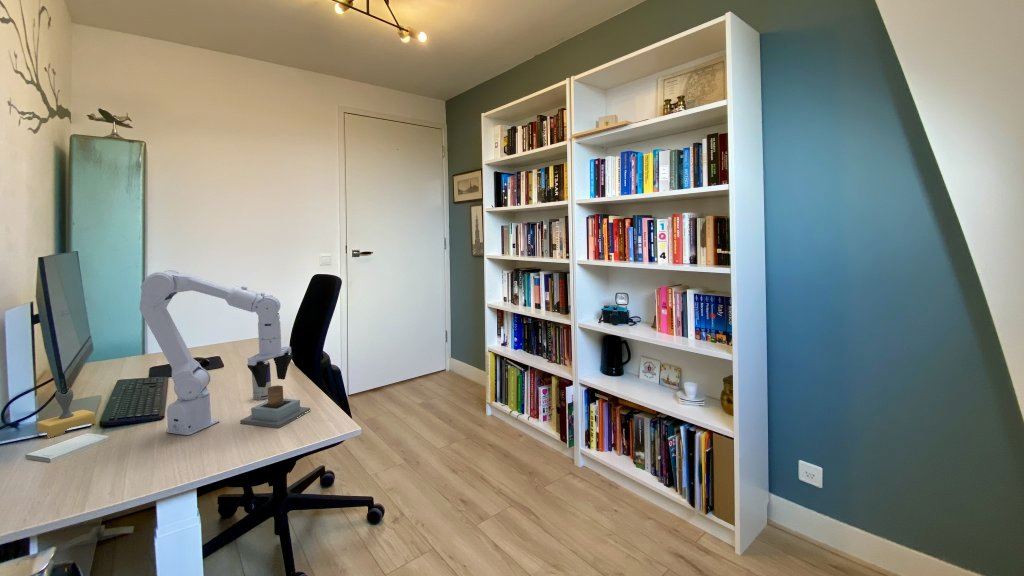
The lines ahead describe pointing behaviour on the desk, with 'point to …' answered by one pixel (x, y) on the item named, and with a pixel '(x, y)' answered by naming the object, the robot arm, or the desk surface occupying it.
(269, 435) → the desk surface
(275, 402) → the walnut pin
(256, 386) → the energy drink
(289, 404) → the socket block
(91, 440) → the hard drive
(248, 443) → the desk surface
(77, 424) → the rubber stamp
